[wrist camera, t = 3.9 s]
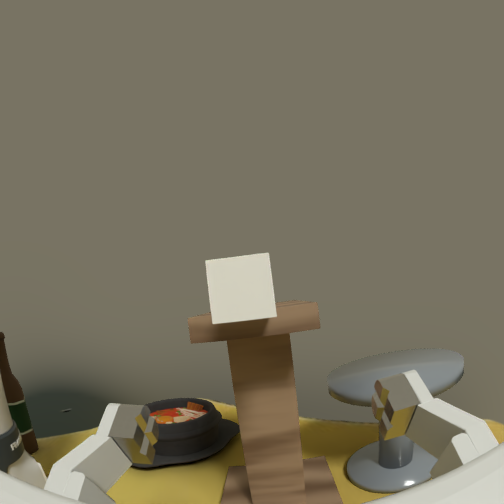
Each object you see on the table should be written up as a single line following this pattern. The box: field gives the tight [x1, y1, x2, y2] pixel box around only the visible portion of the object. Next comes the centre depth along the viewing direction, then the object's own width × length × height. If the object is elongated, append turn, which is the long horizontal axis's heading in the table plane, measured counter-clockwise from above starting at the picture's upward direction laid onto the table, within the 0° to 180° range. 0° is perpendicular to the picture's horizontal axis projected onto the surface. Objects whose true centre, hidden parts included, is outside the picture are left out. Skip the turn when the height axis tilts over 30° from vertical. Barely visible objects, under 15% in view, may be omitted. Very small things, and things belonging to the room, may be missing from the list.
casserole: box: [132, 398, 240, 468], centre depth 47 cm, size 25×19×8 cm
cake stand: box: [327, 349, 464, 493], centre depth 32 cm, size 18×18×16 cm
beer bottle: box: [0, 332, 38, 454], centre depth 38 cm, size 8×8×24 cm
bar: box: [205, 253, 277, 324], centre depth 26 cm, size 24×3×3 cm, turn 178°
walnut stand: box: [188, 300, 343, 504], centre depth 30 cm, size 18×14×26 cm
